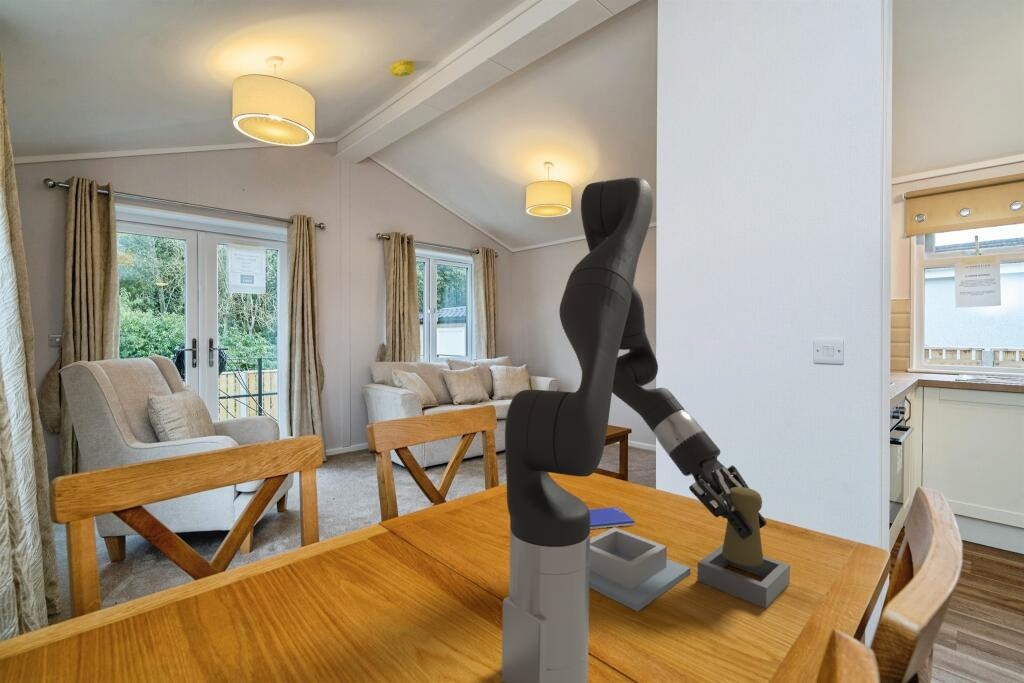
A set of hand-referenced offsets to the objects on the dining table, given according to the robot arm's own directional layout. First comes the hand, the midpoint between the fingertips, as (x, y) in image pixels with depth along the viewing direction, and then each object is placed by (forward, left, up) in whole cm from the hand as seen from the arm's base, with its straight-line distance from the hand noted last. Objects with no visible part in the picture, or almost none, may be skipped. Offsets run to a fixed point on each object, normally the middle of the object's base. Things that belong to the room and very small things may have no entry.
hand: (755, 531), depth 75 cm
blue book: (+3, +33, -10) cm, 34 cm away
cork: (0, +2, -5) cm, 5 cm away
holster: (0, +2, -9) cm, 9 cm away
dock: (-12, +17, -9) cm, 22 cm away
